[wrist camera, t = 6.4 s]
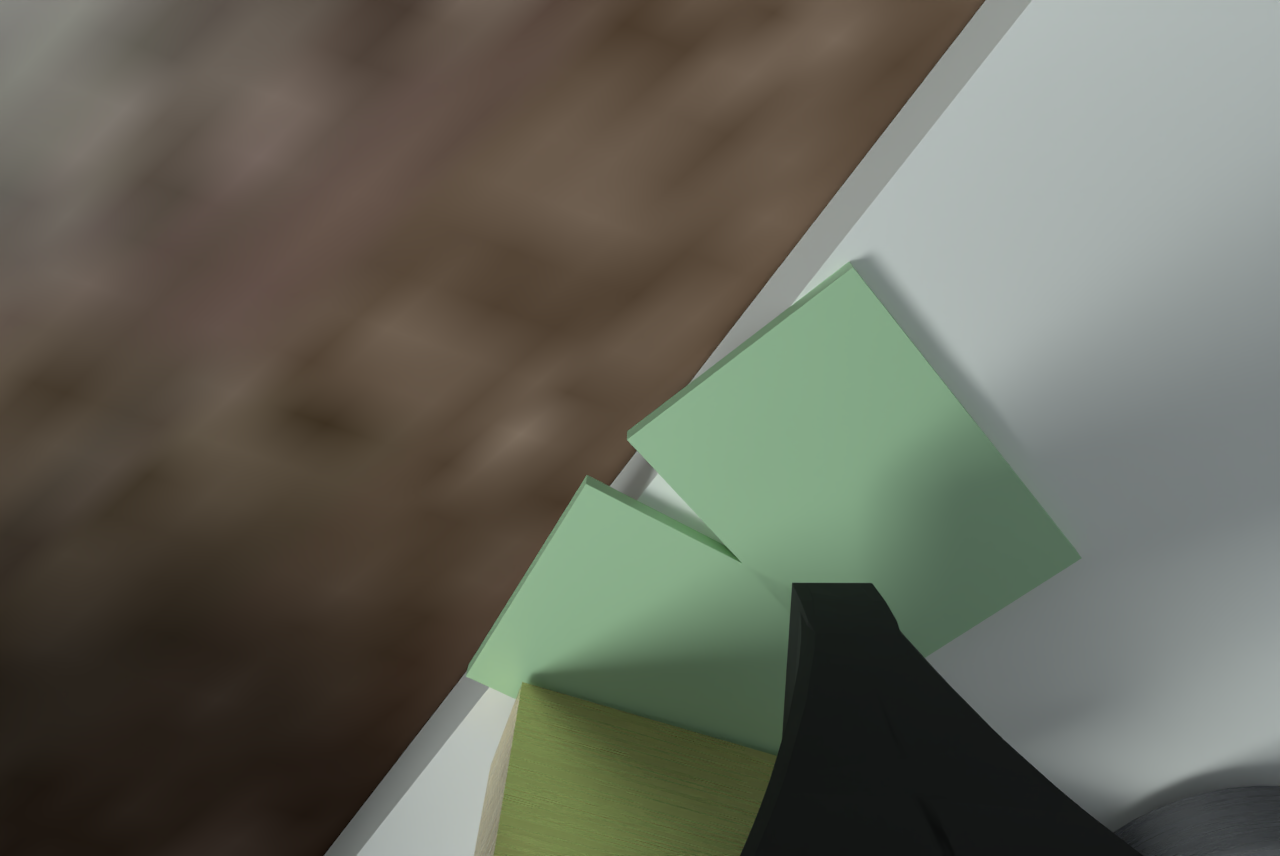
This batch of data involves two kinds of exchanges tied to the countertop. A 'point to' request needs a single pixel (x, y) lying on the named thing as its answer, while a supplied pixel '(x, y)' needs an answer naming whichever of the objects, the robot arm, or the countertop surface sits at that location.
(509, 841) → the grey and tan piece
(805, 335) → the dial board
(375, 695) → the countertop surface
